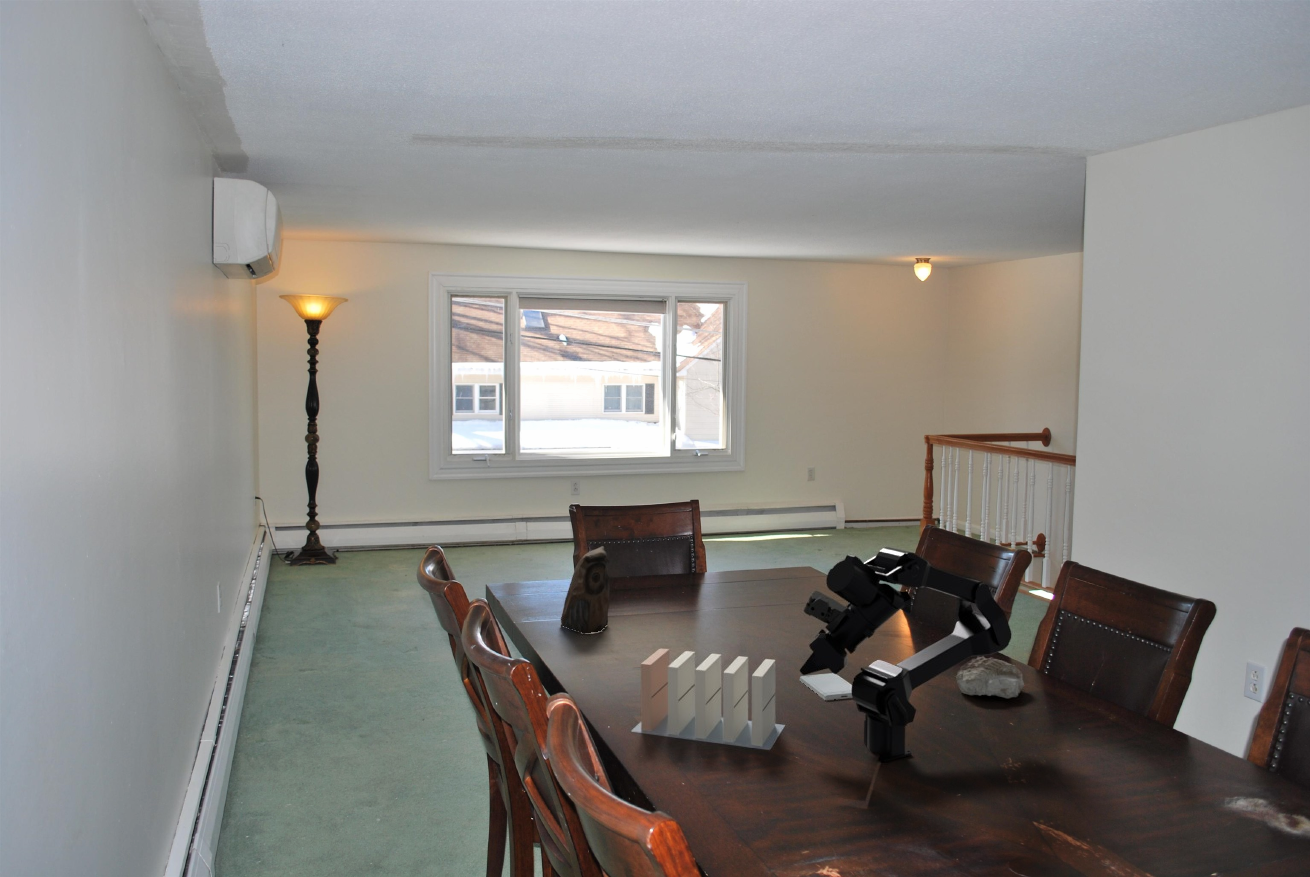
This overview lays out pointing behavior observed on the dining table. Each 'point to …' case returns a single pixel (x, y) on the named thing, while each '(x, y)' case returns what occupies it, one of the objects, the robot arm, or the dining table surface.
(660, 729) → the board
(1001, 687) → the rock
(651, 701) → the domino
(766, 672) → the domino
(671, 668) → the domino
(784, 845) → the dining table surface
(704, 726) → the domino
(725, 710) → the domino
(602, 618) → the owl
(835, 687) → the hard drive
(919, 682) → the robot arm
